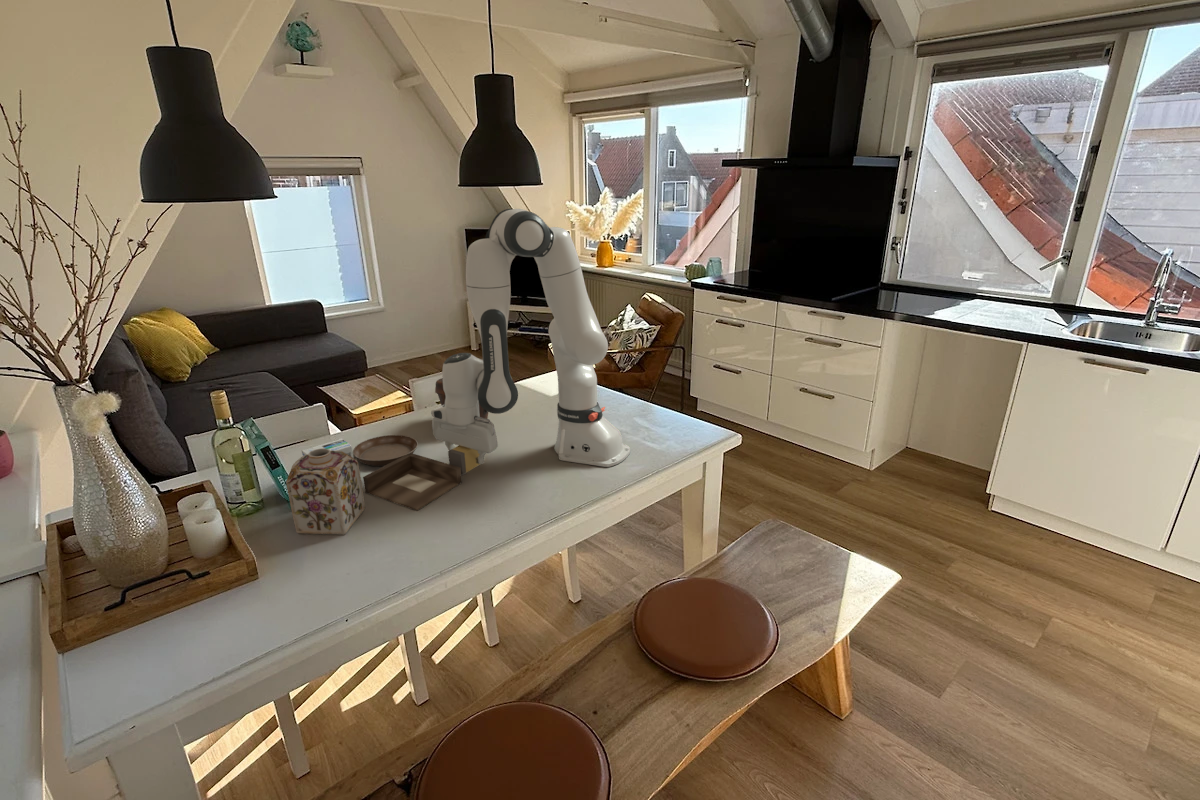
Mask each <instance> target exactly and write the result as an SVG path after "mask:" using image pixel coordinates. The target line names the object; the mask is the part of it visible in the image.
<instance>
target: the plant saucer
mask: <svg viewBox="0 0 1200 800" xmlns="http://www.w3.org/2000/svg"><path fill="white" fill-rule="evenodd" d="M418 445H419V443H418V441H417V439H415V438H414V437H411V436H407V435H403V434H402V435H401V434H400V435H399V434H389V435H381V436H377V437H372V438H369V439H367V440H364V441H362V442H360V443H358V444H357V445H356V446H355V447H354V448H352V452H353V457H354V458H355V459H356V460H357V461H360V463H363V464H365V465H366V466H373V467H383V466H385V465H387V464H389V463H391V462H393V461H395V460H397V459H399V458H401V457H403V456H405V455H407V454H409V453H413V454H415V451H416V450H417V448H418Z"/></svg>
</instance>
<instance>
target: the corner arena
mask: <svg viewBox="0 0 1200 800" xmlns="http://www.w3.org/2000/svg"><path fill="white" fill-rule="evenodd" d="M362 479H363V485H364V491H365V493H364V494H368V495H371V496H374V497H377V498H380V499H383V500H385V501H388V502H390V503H394V504H396V505H400V506H402V507H405V508H408V509H410V510H411V509H412V510H414V511H419V510H421V509H422V508H424V507H426V506H427V505H429V504H431V503H432V502H434V501H435V500H437V499H438V498H439V497H442V496H444V495H445V494H447V493H448V492H450V491H451V490H453V489H455V488H456V487H457V486H459V485H461V484H462V483H463V481H462V475H461V468H460V467H457V466H454V465H450V464H449V463H446V462H443V461H440V460H437V459H432V458H430V457H426V456H422V455H419V454H416V453H409V454H407V455H405V456H403V457H401V458H399V459H397V460H395V461H393V462H391V463H389V464H387V465H385V466H380V468H378V469H375V470H374V471H372V472H370V473H368V474H366V475H365V476H363V477H362Z"/></svg>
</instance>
